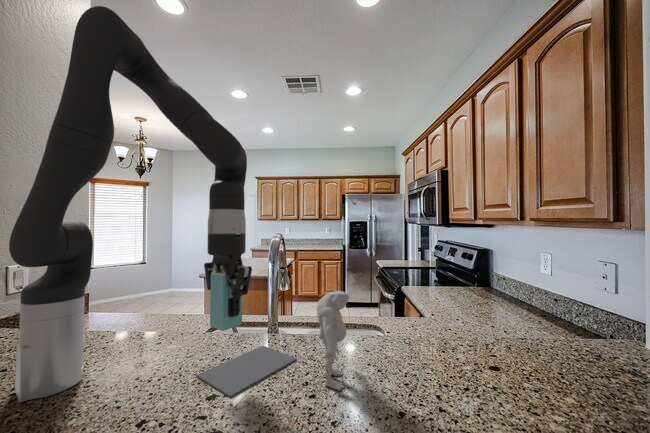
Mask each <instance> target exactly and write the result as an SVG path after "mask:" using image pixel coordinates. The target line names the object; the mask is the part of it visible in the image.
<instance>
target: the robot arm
mask: <svg viewBox="0 0 650 433" xmlns="http://www.w3.org/2000/svg"><path fill="white" fill-rule="evenodd" d="M73 34H74V35H73V39H72V46H71V51H70V52H71V53H70V58H69V64H68V69H67V70H68V71H67V76H66V78H65V82H64V86H63V90H62V93H61V98H60V102H59V105H58V108H57V111H56V113H55V116H54V119H53V121H52V124H51V127H50V131H49V134H48V137H47V141H46V144H45V149H44V152H43V156H42V159H41V161H40V165H39V168H38V170H37V172H36V176H35V179H34V182H33V184H32V186H31V188H30V191H29V193H28V196H27V198H26V200H25V202H24V204H23V205H22V208H21V210H20V212H19V215H18V217H17V219H16V221H15V222H14V225H13V227H12V230H11V233H10V237H9V243H8V246H9V247H8V250H9V254H10V255H9V256H10V257H11V259H12V261H13V262H14V263H15V264H17V265H19V266H20V267H24V268H40V267H46V271H45V272H44V273H43V274H42V275H41V277H39V278H38V279H36V280H35V281H33V282H31V283H29V284H27V285H26V286H24V287H23V288H22V289H21V292H20V308H19V333H18V341H17V342H16V360H15V383H14V385H15V386H14V392H15V395H16V398H17V401H18V403H23V402H27V401H30V400H36V399H37V400H38V399H42V398H46V397H50V396H52V395H53V396H54V395H57V394H59V393H61V392H63V391H66V390H68V389H70V388H72V387H74V386H75V385H77V384H78V383H80V381H82V378H83V369H84V367H83V365H84V336H85V335H84V334H85V333H84V330H85V329H84V328H85V301H86V300H85V294H86V287H87V285H88V283H89V281H90V278H91V273H92V272H91V271H92V261H93V260H92V258H93V249H94V243H93V242H94V241H93V240H94V238H93V235H92V232H91V229H90V228H89V226H88V225H87V224H86V223H85V222H83V221H81V220H77V219H66V218H65V215H66V212H67V210H68V207H69V205H70V203H71V201H72V200H73V199H74V197H75V196H76V194H77V193H79V191H80V190H82V189H83V188H84V187H85V186H86V185H87V184H88V183H89V182H90V181H91V180H93V178H95V177H96V176H97V175H98V174H99V173H100V171H102V169H103V168H104V166H105V165H106V162H107V160H108V158H109V154H110V152H111V148H112V145H113V141H114V138H115V125H114V118H113V117H114V116H113V111H112V106H111V98H110V87H111V86H110V85H111V81H112V77H113V73H114V71H115V72H116V73H118V74H119V75H120V76H122V77H124V78H125V79H127V80H128V81H129V82H131V83H133V84H134V85H135V86H136V87H138V88H139V89H140V90H141V91H143V92H144V93H145V94H146V95H147V96H148V97H149V99H150V100H151V101H153V103H154V105H155V106H156V107H157V108H158V110H159V111H160V112H161V113H162V114H163V115H164V116H165V117H166V119H167V120H168V121H169V122H170V123H171V124H172V125H173V126H174V127H175V128H176V129H177V130H178V131H179V132H180V133H181V134H183V135H184V136H185V137H186V138H187V139H188V140H189V141H191V142H192V143H193V144H194V145H195V146H196V148H197V149H198V150H199V151H200V152H201V153H202V154H203V156H205V158H206V159H207V160H208V161H209V162H210V163H211V164H213V165H214V169H215V170H214V182H213V183H212V184H211V185H210V187H209V195H208V196H209V199H208V200H209V201H208V202H209V203H208V205H209V210H208V219H207V254H208V255H209V256H212V260H211V261H210V262H209V261H208V262H205V263H204V266H203V267H204V274H205V280H206V287H207V288H206V289H207V290H208V291H211V274H212V272H215V273H218V272H220V273H222V274H225V276H226V287H227V288H228V296H229V299H228V316H229V317H235V316H238V315H239V312H240V297H241V296H242V297H243V296H245V295H248V291H249V288H250V283H251V282H250V281H251V277H252V272H253V268H252V266H249V265H248V266H246V265H244V264H243V259H242V255H244V254H245V253H246V246H247V244H246V242H247V241H246V240H247V239H246V235H247V234H246V233H247V232H246V225H247V224H246V220H247V219H246V215H245V184H246V177H247V169H248V167H247V166H248V160H247V158H248V157H247V152H246V150H245V149H244V147H243V145H242V144H241V142H240V141H239V140H238V139H237V138H236V136H235V135H234V134H232V132H230V131H229V130H228V129H227V128H225V126H223V125H222V124H221V123H220V122H218V120H216V119H215V118H214V117H213V115H212V114H210V113H209V111H208V110H207V109H205V107H204V106H203V105H202V104H201V103H200V102H199V101H198V100H196V98H194V96H192V95H191V93H189V92H188V91H187V90H185V89H184V88H183V87H182V86H181V85H179V84H178V83H177V82H176V81H175V80H173V79H172V78H171V77H170V76H169V75H168V74H167V73H166V71H165V70H163V68H162V67H161V66H160V65H159V63H158V62H157V60H155V57H154V56H153V55H152V54H151V52H150V51H149V49H148V48H147V47H146V45H145V44H144V42H143V40H142V39H141V38H140V36H139V35H138V34H137V33H136V32H135V31H134V30H133V28H131V26H130V25H129V24H128V23H127V22H126V21H125V20H124V19H123V18H122V17H121V16H120V15H119V14H118V13H116V12H115V11H114V10H112V9H111V8H108V6H103V5H102V6H101V5H95V6H92V7H89V8H88V9H86V10H85V11H84V12H83V13H82V14H81V15H80V17H79V19H78V21H77V23H76V26H75V30H74V33H73ZM229 279H230V280H233V279H236V281H235V282H230V281H229ZM233 286H235V289H234V292H233ZM241 286H242V289H241Z"/></svg>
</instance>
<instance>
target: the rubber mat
mask: <svg viewBox="0 0 650 433" xmlns="http://www.w3.org/2000/svg"><path fill="white" fill-rule="evenodd" d="M297 359H298V358H296V357H294V356H292V355H289V354H286V353H284V352H281V351H279V350H275V349H273V348H271V347H269V346H265V345H261V346H258V347H256V348H254V349H252V350H249V351H248V352H245V353H243V354H241V355H238V356H236V357H234V358H232V359H229V360H227V361H225V362H223V363H220V364H219V365H215V366H214V367H211V368H210V369H207V370H204V371H203V372H199V373H198V374H196V378H198V379H199V380H200V381H202V382H204V383H205V384H207V385H209V386H210V387H212V388H214V389H215V390H217V391H219V392H220V393H222V394H224V395H225V396H226V397H228V398H230V399H231V398H233V397H235V396H237V395H239V394H240V393H241V392H243V391H244V392H245V390H247V389H249V388H250V387H252V386H255V385H256V384H257V383H259V382H261V381H263V380H265V379H266V378H268V377H270V376H272V375H273V374H275V373H276V372H278V371H280V370H282V369H283V368H284V369H285V367H288V366H289V365H291V364H293V363H294V362H296V361H297Z"/></svg>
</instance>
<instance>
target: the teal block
mask: <svg viewBox="0 0 650 433" xmlns="http://www.w3.org/2000/svg"><path fill="white" fill-rule="evenodd" d="M229 281H230V282H235V281H236V279H233V280H230V279H229ZM234 289H235V286H233V292H234ZM241 289H243V285H242V286H241ZM209 291H210V295H209V296H210V301H209V302H210V303H209V304H210V308H209V309H210V312H209V313H210V314H209V319H210V320H209V323H210V324H209V325H210V327H211V328H214V329H216V330H219V331H222V332H224V331H227V330H230V329H232V328H233V329H234V328H236V327H239V326H241V325H243V295H242V296H241V297H240V312H239V315H238V316H235V317H229V316H228V299H229V296H228V288H227V287H226V276H225V274H222V273H220V272H218V273H215V272H212V274H211V290H209Z"/></svg>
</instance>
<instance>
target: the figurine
mask: <svg viewBox="0 0 650 433" xmlns="http://www.w3.org/2000/svg"><path fill="white" fill-rule="evenodd" d="M349 299H350V296H349V295H348V293H346V292H345V291H342V290H336V291H335V290H334V291H330V292H328V293H326V294H325V295H323V296H322V297H321V298H320V299H318V301H317V305H316V306H317V307H316V316H317V320H318V323H319V334H318V338H319V339H320V340H322V341H323V346H324V347H325V352H324V359H325V361H324V369H325V371H324V377H326V380H325V382H324V385H325V386H326V387H329V388H331V389H333V390H337V391H340V392H341V391H342V389H344V383H343V382H339V381H336V380H335V379H333V378H332V376H335V377H338V376H339V377H342V376H343V373H342V371H341V370H340V369H338V368H336V369H334V368H333V364H334V363H333V362H334V361H336V362H338V361H339V360H338V357H337V355H340V351H339V349H338V347H337V346H338V342H342V341H344V339H345V338H346V337H347V326H346V323H345V322H344V321H343V315H342V313H341V310H343V309H344V308H346V307H345V306H346V305H347V303H348V301H349Z"/></svg>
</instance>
